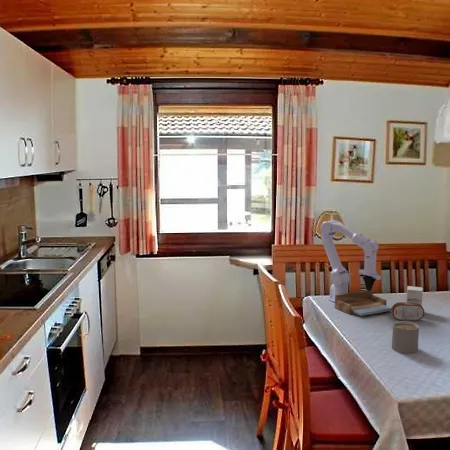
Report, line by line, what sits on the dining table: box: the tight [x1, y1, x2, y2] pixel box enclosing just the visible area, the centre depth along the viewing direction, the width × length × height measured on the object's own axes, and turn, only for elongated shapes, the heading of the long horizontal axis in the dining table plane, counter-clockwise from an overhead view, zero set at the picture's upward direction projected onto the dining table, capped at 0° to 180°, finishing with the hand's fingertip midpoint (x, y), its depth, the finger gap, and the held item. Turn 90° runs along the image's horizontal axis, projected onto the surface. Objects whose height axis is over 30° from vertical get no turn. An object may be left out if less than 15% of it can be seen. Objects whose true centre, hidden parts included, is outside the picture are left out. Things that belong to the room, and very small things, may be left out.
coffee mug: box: [391, 320, 420, 355], centre depth 204 cm, size 13×10×10 cm
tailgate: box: [353, 305, 392, 317], centre depth 249 cm, size 2×20×6 cm
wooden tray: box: [334, 289, 387, 315], centre depth 257 cm, size 12×24×7 cm, turn 115°
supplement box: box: [405, 285, 424, 307], centre depth 249 cm, size 7×7×13 cm
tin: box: [390, 301, 425, 322], centre depth 238 cm, size 15×3×8 cm, turn 84°
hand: (368, 290), depth 256 cm, fingers closed
